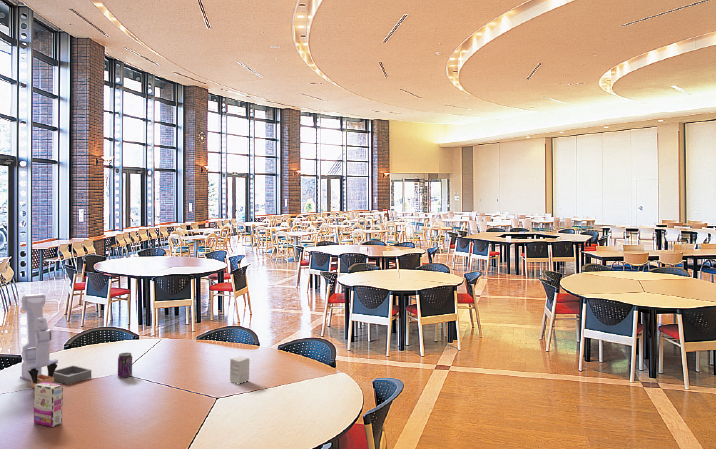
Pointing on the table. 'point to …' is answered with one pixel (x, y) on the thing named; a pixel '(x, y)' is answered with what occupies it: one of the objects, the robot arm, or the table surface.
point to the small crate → (43, 379)
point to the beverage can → (124, 365)
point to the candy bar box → (48, 404)
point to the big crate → (71, 374)
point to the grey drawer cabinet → (239, 369)
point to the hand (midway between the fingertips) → (42, 381)
